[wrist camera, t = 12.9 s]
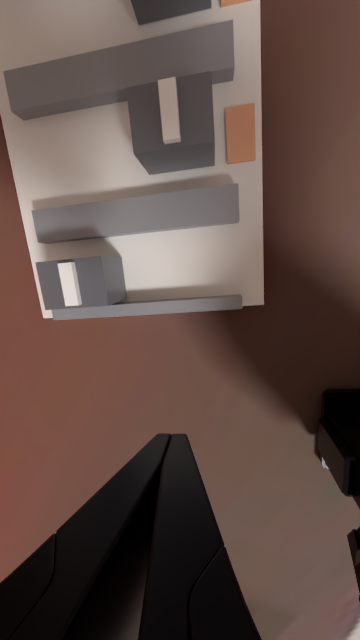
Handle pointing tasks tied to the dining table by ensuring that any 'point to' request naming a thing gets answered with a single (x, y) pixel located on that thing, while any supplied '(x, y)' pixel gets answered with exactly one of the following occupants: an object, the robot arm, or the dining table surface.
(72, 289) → the tab
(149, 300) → the switch board
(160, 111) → the tab
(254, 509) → the dining table surface
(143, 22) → the tab
